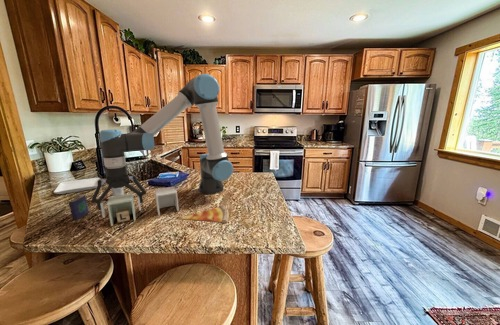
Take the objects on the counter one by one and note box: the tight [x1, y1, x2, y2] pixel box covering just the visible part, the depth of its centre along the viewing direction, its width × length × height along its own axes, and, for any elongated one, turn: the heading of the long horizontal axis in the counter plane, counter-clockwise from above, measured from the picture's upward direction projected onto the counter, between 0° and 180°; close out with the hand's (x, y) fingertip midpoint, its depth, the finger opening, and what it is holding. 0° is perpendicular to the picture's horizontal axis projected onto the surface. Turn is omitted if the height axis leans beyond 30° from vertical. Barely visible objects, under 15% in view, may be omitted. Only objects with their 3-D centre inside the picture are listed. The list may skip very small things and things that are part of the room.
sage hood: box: [106, 192, 137, 227], centre depth 89 cm, size 9×9×10 cm
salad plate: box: [53, 177, 101, 195], centre depth 131 cm, size 21×21×3 cm
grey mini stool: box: [154, 186, 180, 217], centre depth 98 cm, size 9×9×10 cm
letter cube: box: [116, 207, 131, 223], centre depth 90 cm, size 5×4×4 cm
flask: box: [68, 193, 90, 222], centre depth 93 cm, size 9×3×11 cm, turn 8°
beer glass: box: [110, 187, 125, 196], centre depth 112 cm, size 7×7×15 cm
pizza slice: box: [179, 203, 230, 224], centre depth 96 cm, size 16×22×2 cm
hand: (122, 212), depth 90 cm, fingers open, 13 cm apart
